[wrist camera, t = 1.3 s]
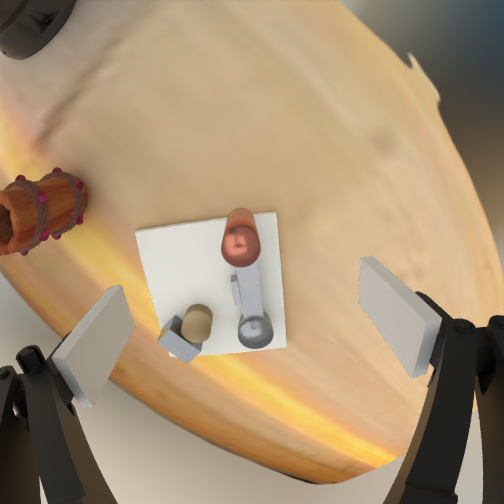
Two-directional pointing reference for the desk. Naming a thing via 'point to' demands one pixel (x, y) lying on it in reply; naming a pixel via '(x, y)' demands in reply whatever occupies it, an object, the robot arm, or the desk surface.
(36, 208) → the mug
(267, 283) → the bench board
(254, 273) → the lever
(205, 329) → the tan short cylinder
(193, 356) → the grey rectangular block
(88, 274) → the desk surface
